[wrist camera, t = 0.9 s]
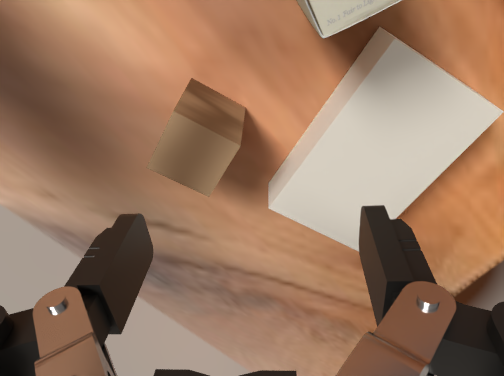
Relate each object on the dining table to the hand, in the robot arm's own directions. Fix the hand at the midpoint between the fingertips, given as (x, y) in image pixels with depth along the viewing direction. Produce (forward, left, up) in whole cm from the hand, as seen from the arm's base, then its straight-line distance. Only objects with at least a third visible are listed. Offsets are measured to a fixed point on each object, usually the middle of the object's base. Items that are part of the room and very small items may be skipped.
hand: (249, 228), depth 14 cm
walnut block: (-2, -6, -19) cm, 20 cm away
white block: (+11, -1, -19) cm, 22 cm away
